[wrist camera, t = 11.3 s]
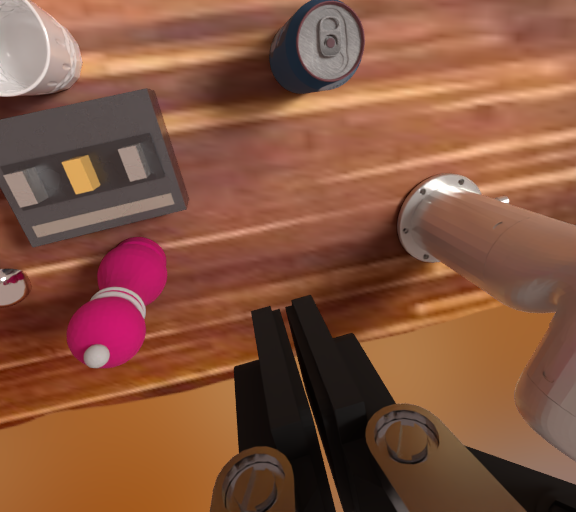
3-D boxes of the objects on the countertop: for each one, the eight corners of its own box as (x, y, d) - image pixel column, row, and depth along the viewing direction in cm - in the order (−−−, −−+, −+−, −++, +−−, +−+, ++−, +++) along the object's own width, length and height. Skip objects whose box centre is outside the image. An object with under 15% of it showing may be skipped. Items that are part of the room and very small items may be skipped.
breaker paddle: (87, 154, 35) (79, 158, 33) (100, 185, 36) (93, 190, 34) (71, 158, 35) (61, 162, 33) (84, 188, 36) (75, 194, 34)
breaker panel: (154, 90, 39) (141, 87, 32) (189, 198, 44) (184, 216, 37) (-3, 124, 37) (-53, 128, 30) (51, 232, 42) (19, 257, 35)
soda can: (329, 91, 42) (371, 86, 31) (270, 96, 41) (292, 92, 30) (327, 21, 40) (372, -11, 29) (264, 24, 39) (286, -8, 28)
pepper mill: (113, 288, 46) (50, 407, 28) (104, 233, 43) (27, 326, 25) (173, 284, 47) (150, 395, 29) (167, 231, 45) (138, 317, 27)
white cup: (103, 46, 37) (68, 26, 27) (68, 115, 38) (23, 117, 29) (19, -13, 34) (-52, -57, 25) (-16, 64, 35) (-94, 50, 26)
